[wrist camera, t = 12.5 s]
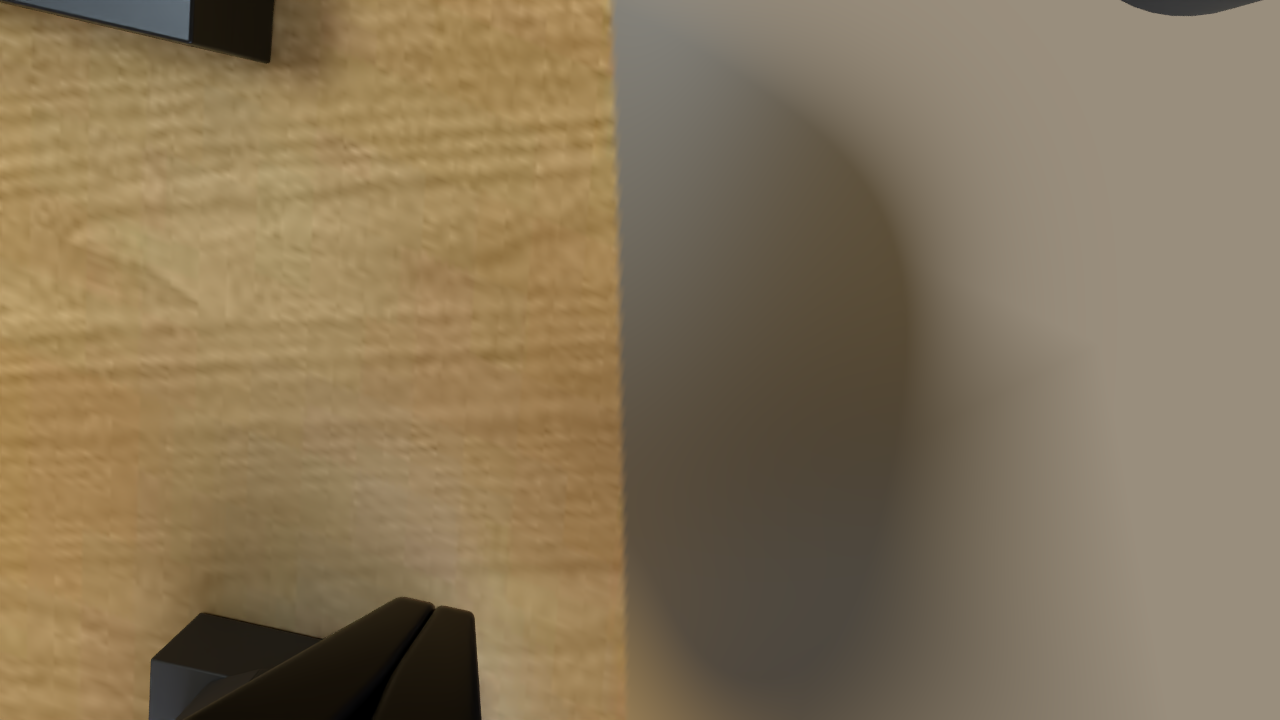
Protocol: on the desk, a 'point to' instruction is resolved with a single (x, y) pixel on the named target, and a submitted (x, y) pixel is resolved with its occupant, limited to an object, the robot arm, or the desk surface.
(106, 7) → the lock panel
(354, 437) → the desk surface
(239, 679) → the dark grey button base
